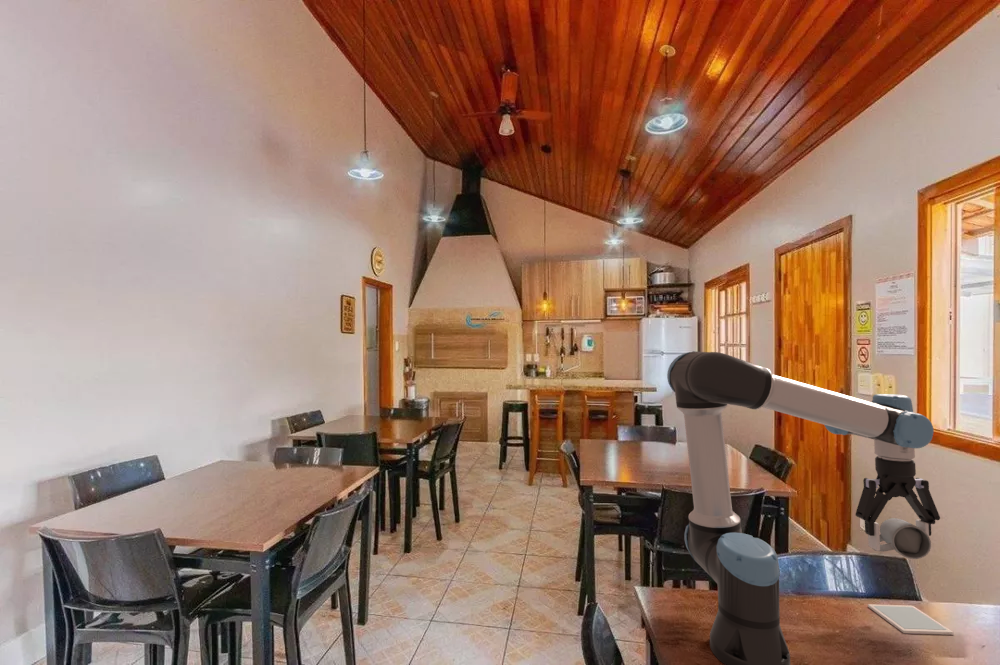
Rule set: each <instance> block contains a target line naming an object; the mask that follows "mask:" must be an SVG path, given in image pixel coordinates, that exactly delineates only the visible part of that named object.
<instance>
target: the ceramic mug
mask: <svg viewBox="0 0 1000 665" xmlns="http://www.w3.org/2000/svg"><path fill="white" fill-rule="evenodd" d="M879 535H880V543H881V542H885V543H883V544H880V551H879V552H889V551H895V552H896V553H898V554H899V555H900V556H902V557H904V558H907V559H912V560H919V559H922V558H924V557H926V556H927V555H928V554H929V553H930V551H931V549H932V542H931V538H930V536H928V535H927V533H926V532H925V531H924V530H922V529H921V528H919V527H917V526H916V524H912V523H910V522H908V521H906V520H904V519H901V518H896V517H895V518H894V517H892V518H887V519H885V520H884V521H882V523H880V525H879ZM871 549H872V550H874V549H873V548H871ZM874 551H876V550H874ZM876 552H877V551H876Z"/></svg>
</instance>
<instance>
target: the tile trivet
mask: <svg viewBox="0 0 1000 665" xmlns="http://www.w3.org/2000/svg"><path fill="white" fill-rule="evenodd" d="M867 607H868V608H869V609H870V610H872V611H873V612H874V613H876V614H877V615H878V616H880V617H881V618H882V619H884V620H885V621H887V622H888V623H889V624H891V625H892V626H893V627H895V628H896V629H897V630H898V631H900V632H901V633H903V634H917V635H920V634H921V635H943V636H944V635H950V636H951V635H952V636H953V635H954V631H952V630H951V629H950V628H948V627H947V626H946V625H944V624H941V623H940V622H939V621H937V620H935V619H934V618H933V617H931V616H930V615H928V614H927V613H925V612H923V611H922V610H920V609H919V608H917V607H915V606H914V605H910V604H909V605H907V604H906V605H903V604H874V603H873V604H870V603H868V604H867Z"/></svg>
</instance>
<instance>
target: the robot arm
mask: <svg viewBox="0 0 1000 665" xmlns="http://www.w3.org/2000/svg"><path fill="white" fill-rule="evenodd" d="M666 376H667V382H668V385H669V386H670V388H671V390H672V391H673V392H674V393H675V394H674V396H675V404H676V408H677V410H679V411H680V412H682V414H683V418H684V427H685V434H686V435H685V436H686V445H687V454H688V462H689V464H688V465H689V474H690V483H691V492H692V503H693V509H692V511H690V513H689V514H688V524H687V525H686V526H685V530H684V544H685V547H686V549H687V550H688V553H689V554H690V556H691V558H692V559H693V560H694V561H695V563H696V564H698V565H699V566H700V567H701V568H702V569H703V570H704V571H705V573H707V575H709V577H710V578H711V579H712V580H713V581H714V582H715V583H716V584H717V603H718V605H717V607H718V608H717V611H716V612H717V613H716V614H715V618H714V621H713V623H712V625H711V629H710V633H709V647H710V650H711V652H712V654H713V655H714V656H715V658H717V659H718V660H719V661H720V662H721V663H722V664H724V665H791V653H790V651H789V647H788V643H787V642H786V639H785V636H784V633H783V630H782V628H781V622H780V620H781V619H780V618H781V617H780V616H781V615H780V613H781V612H780V611H781V610H780V576H781V570H780V564H779V557H778V555H777V553H776V551H775V549H774V548H773V547H772V546H771V545H770V544H769V543H767V542H766V541H764V540H763V539H761V538H758V537H753V535H750V534H748V533H747V534H746V533H744V532H742V524H741V522H742V521H741V517H740V515H738V514H737V513H735V511H733V507H732V506H733V505H732V497H731V489H730V479H729V469H728V459H727V452H726V450H727V449H726V443H725V433H724V431H725V430H724V425H723V422H724V421H723V416H722V414H723V411H724V410H725V409H726V408H727V407H728V405H731V406H737V407H738V406H739V407H743V408H747V409H751V410H756V411H757V410H760V409H761V408H763V409H768V410H772V411H774V412H779V413H781V414H786V415H789V416H792V417H796V418H800V419H803V420H807V421H809V422H814V423H817V424H821V425H824V427H825V428H826V430H827V431H828V432H829V433H831V434H833V435H842V436H847V435H852V436H853V435H854V436H858V437H862V438H866V439H871V440H873V442H874V445H873V446H874V454H875V458H874V465H875V471H876V473H877V476H876V478H875V479H874V478H871V479H870V478H867V477H865V478H863V489H862V492H861V495H860V499H859V501H858V505H857V508H856V510H855V516H856V517H857V518H859V519H861V520H863V521H864V532H865V534H866V535H867V541H868V543H867V544H868V547H869V548H871V549H872V548H873V549H874V551H875V550H876V552H881V551H880V545H881V542H880V523H878V522H877V520H878V517H880V515H881V513H882V511H883V510H884V508H885V507H886V505H887V503H888V502H889V501H891V500H892V499H893V498H899V497H902V498H904V499H905V500H906V502H907V504H909V506H910V507H911V509H912V510H913V512H914V513H915V514H916V516H917V517H918V519H915V526H917V527H919V528H921V529H922V530H924V531H925V532H926V533H927V535H928V536H929V537H931V536H932V525H935V524H936V521H939V520H940V519H941V516H940V514H939V511H938V509H937V506H936V504H935V501H934V499H933V496H932V494H931V492H930V483H929V481H928V480H926V479H923V478H919V477H916V478H915V476H916V475H917V473H916V462H915V461H914V459H915V457H916V455H915V449H922V448H924V447H927V446H929V444H930V443H931V441H932V440H933V436H934V433H935V431H934V426H933V424H932V422H931V420H930V419H929V418H928V417H926V416H925V415H923V414H921V413H916V412H914V407H913V402H912V401H913V400H912V399H911V397H910V396H908V395H903V394H893V393H875V394H874V395H873V396H872V398H871V399H872V400H871V401H869V400H864V399H862V398H859V397H854V396H850V395H846V394H844V393H840V392H837V391H833V390H829V389H826V388H822V387H818V386H815V385H812V384H808V383H804V382H801V381H797V380H794V379H790V378H787V377H782V376H779V375H777V374H774V373H772V371H771V370H770V368H767V367H764V366H762V365H758V364H756V363H752V362H749V361H746V360H743V359H741V358H738V357H735V356H732V355H730V354H727V353H723V352H716V351H694V350H693V351H689V352H685V353H682V354H679V355H678V356H677V357H675V358H674V359H673V360H672V362H671V363H670V364H669V366H668V369H667V373H666ZM914 488H915V491H916V493H917V494H916V493H915V491H914ZM918 498H919V499H918ZM873 549H872V550H873Z"/></svg>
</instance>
